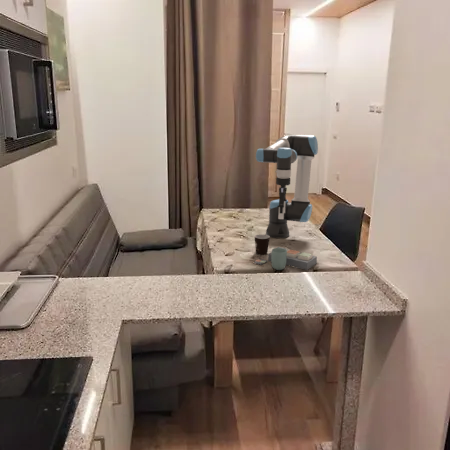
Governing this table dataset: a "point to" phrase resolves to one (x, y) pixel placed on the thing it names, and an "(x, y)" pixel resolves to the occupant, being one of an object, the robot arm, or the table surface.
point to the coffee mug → (261, 244)
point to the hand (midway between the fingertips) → (281, 215)
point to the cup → (278, 258)
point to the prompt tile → (260, 261)
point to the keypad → (299, 262)
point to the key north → (305, 256)
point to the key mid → (293, 253)
